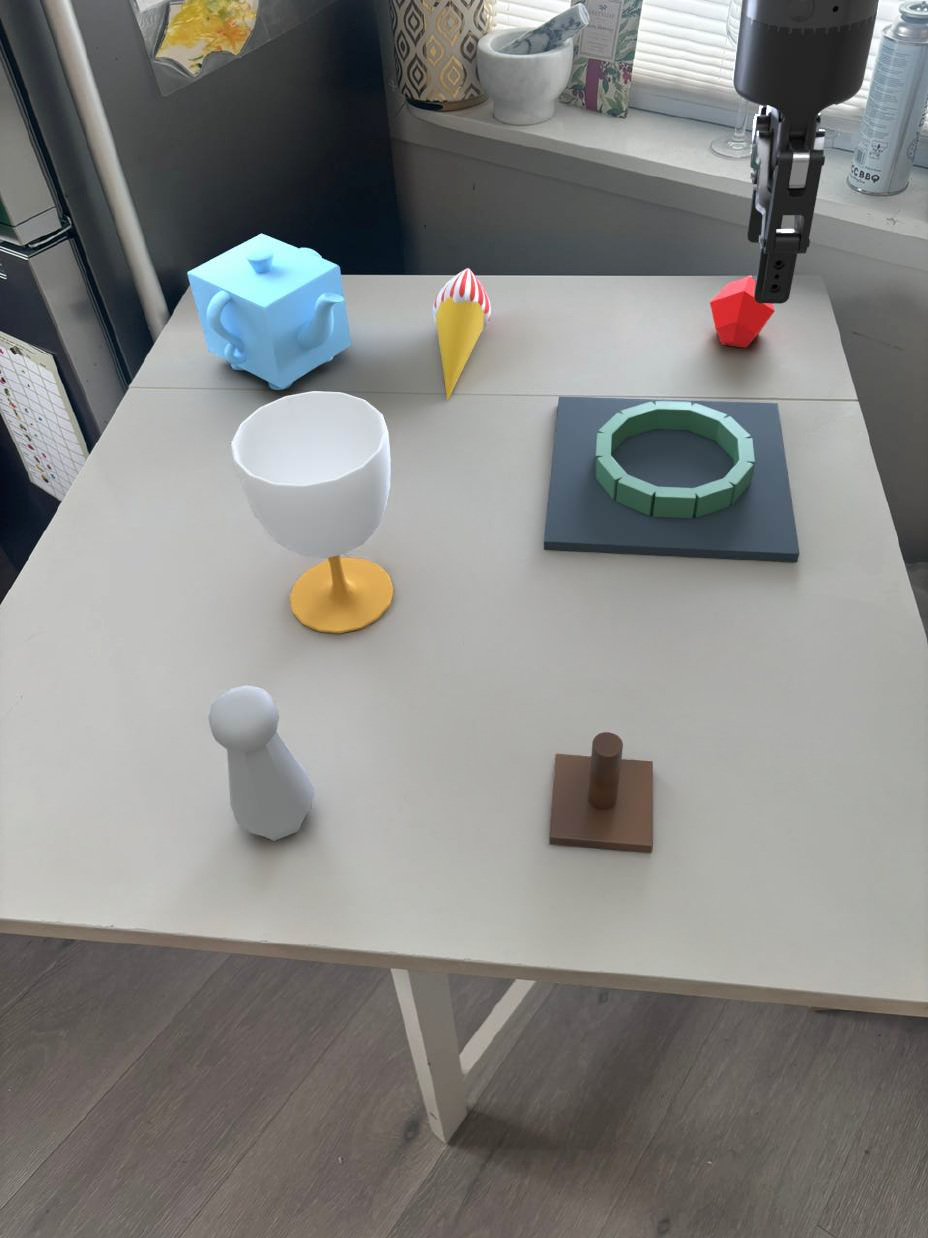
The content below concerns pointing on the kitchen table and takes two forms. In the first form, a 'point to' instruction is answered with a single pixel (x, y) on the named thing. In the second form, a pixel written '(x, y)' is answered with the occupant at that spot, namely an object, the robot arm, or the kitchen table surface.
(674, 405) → the ring
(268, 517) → the cup
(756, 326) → the red faceted gem
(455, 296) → the ice cream cone
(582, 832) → the ring toss
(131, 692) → the kitchen table surface
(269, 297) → the teapot
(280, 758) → the white game pawn
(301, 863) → the kitchen table surface
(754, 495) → the mat
